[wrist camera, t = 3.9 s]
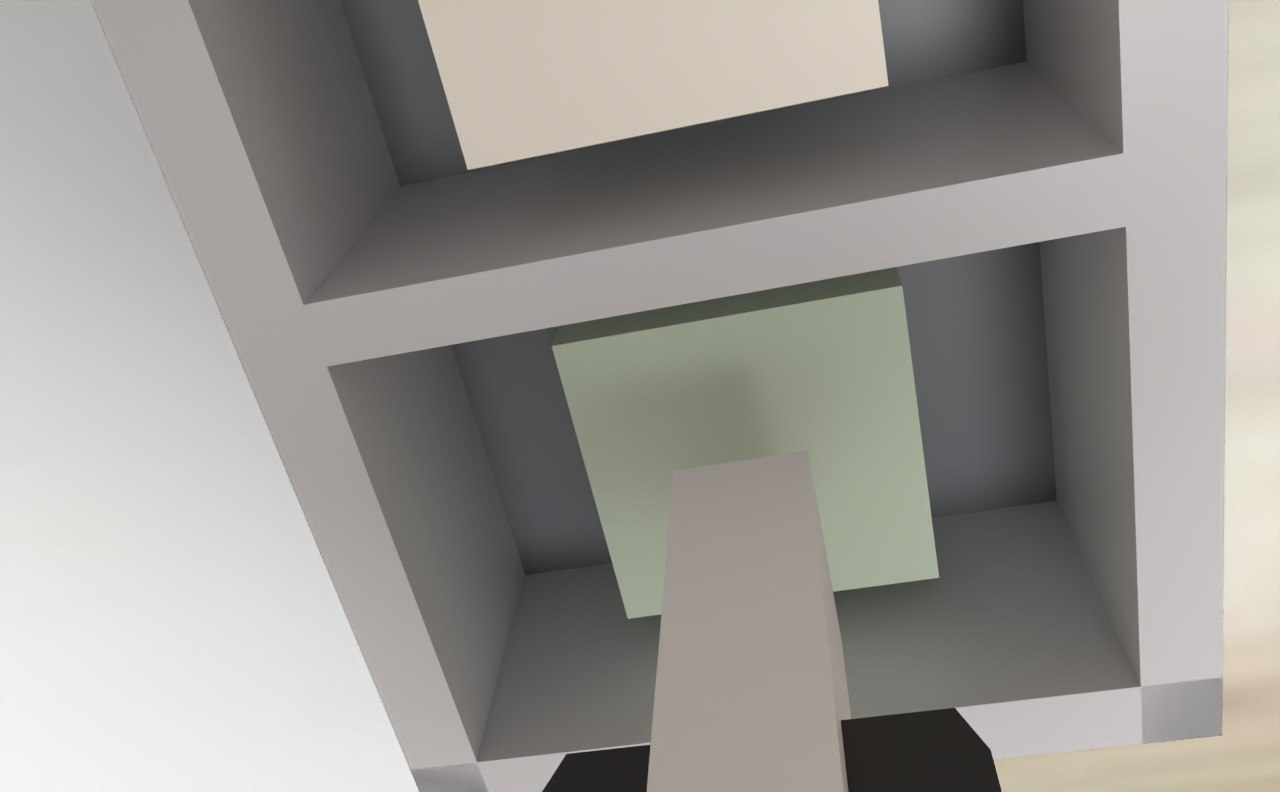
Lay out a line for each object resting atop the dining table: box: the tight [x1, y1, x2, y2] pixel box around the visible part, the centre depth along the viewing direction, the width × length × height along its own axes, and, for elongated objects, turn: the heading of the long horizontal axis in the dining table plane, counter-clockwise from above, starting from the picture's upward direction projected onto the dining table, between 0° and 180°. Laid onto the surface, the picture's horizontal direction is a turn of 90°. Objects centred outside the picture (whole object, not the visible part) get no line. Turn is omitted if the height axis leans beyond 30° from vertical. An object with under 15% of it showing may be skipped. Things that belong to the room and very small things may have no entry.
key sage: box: [552, 267, 939, 619], centre depth 17 cm, size 5×5×2 cm
